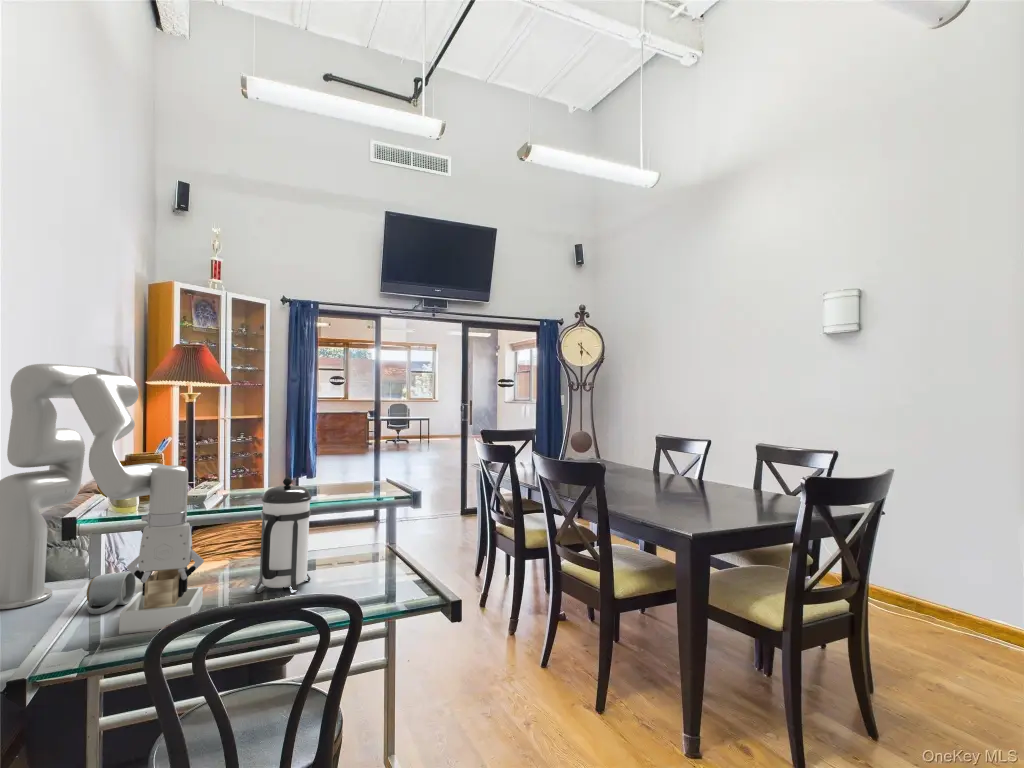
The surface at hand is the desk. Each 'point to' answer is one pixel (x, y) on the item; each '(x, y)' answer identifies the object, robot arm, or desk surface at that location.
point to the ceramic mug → (110, 591)
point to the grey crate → (158, 612)
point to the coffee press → (284, 536)
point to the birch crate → (162, 589)
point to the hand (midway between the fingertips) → (164, 596)
